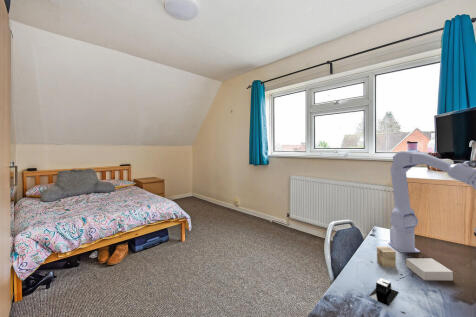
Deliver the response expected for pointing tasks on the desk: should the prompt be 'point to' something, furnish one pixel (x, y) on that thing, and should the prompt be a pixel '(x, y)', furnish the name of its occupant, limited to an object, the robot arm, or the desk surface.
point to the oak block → (386, 256)
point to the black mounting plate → (383, 292)
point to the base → (429, 269)
